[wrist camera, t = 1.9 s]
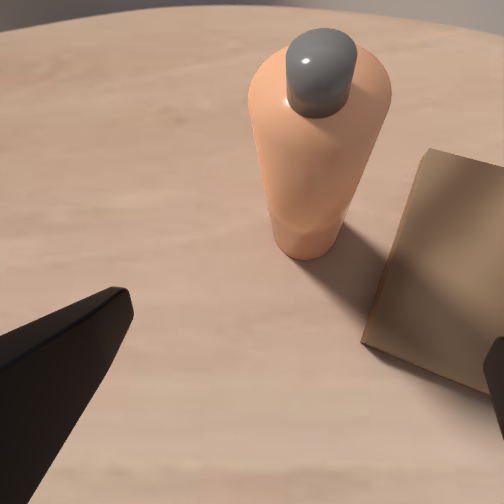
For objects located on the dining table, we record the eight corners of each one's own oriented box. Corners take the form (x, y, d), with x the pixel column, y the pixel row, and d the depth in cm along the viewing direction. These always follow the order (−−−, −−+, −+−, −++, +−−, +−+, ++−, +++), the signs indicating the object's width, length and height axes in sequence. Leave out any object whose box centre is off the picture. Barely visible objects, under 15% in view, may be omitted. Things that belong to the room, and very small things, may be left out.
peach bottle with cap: (346, 212, 22) (427, 9, 9) (324, 269, 22) (377, 144, 8) (286, 192, 24) (275, -16, 10) (263, 247, 23) (215, 100, 9)
